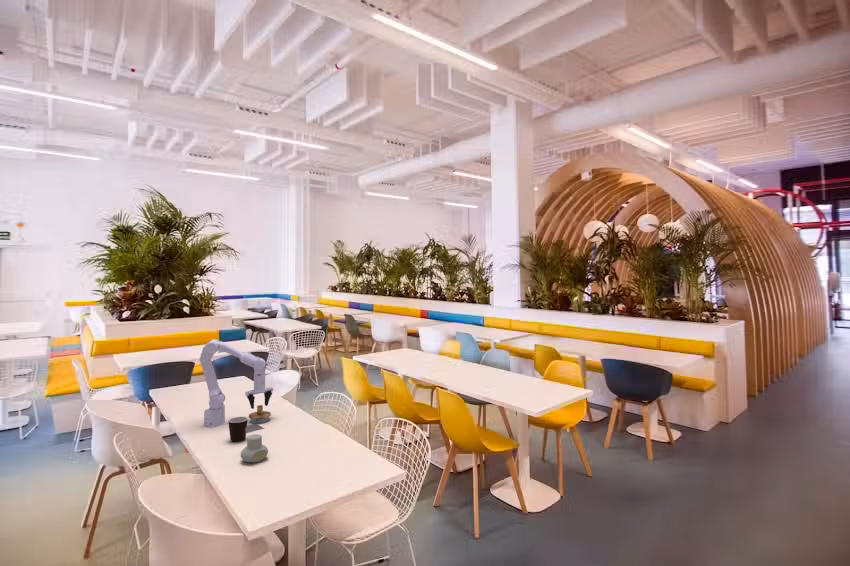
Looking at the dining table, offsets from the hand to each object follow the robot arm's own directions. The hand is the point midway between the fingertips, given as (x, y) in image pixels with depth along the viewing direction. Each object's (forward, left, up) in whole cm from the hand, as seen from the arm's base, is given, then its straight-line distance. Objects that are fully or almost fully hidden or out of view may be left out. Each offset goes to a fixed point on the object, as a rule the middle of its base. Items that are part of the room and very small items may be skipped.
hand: (259, 406), depth 235 cm
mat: (-8, -9, -8) cm, 14 cm away
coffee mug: (-18, -19, -8) cm, 27 cm away
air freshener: (-23, -46, -8) cm, 52 cm away
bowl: (0, 0, -8) cm, 8 cm away
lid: (0, -1, -5) cm, 5 cm away
